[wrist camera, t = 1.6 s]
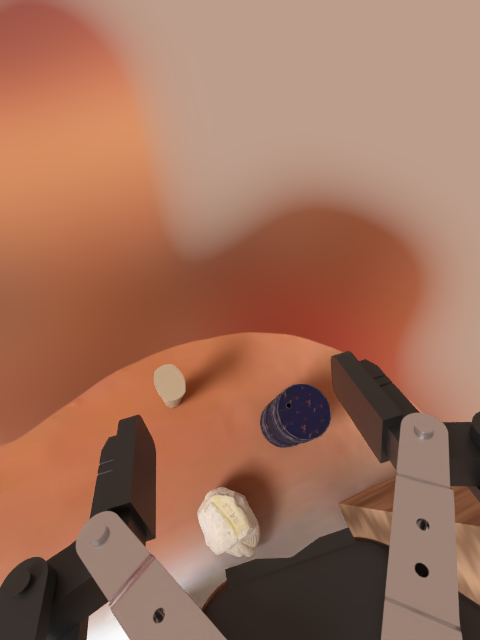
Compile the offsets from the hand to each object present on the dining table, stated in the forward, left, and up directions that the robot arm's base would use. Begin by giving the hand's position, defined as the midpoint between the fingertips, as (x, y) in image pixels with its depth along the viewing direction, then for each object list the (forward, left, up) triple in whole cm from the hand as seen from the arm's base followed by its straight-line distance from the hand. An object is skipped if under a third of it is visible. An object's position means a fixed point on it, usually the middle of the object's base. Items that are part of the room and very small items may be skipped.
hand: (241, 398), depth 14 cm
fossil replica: (-7, -10, -59) cm, 60 cm away
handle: (+8, +10, -59) cm, 60 cm away
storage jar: (+14, -13, -59) cm, 62 cm away
